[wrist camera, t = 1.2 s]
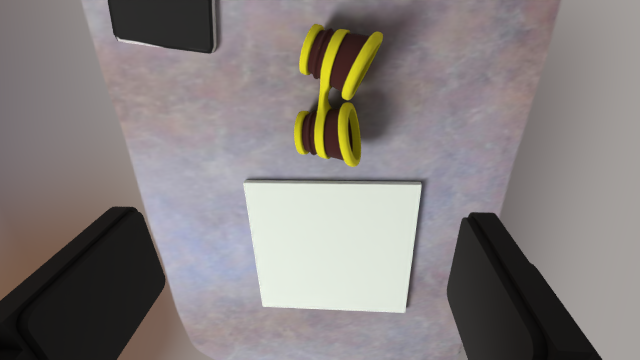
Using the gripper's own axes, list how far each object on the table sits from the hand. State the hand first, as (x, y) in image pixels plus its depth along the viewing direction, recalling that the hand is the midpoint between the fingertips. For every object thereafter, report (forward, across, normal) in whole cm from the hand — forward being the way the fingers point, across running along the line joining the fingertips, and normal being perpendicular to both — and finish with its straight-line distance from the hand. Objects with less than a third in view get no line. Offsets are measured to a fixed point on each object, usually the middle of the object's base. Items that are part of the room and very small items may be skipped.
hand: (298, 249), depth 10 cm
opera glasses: (+19, 0, 0) cm, 19 cm away
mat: (+18, 0, +16) cm, 24 cm away
